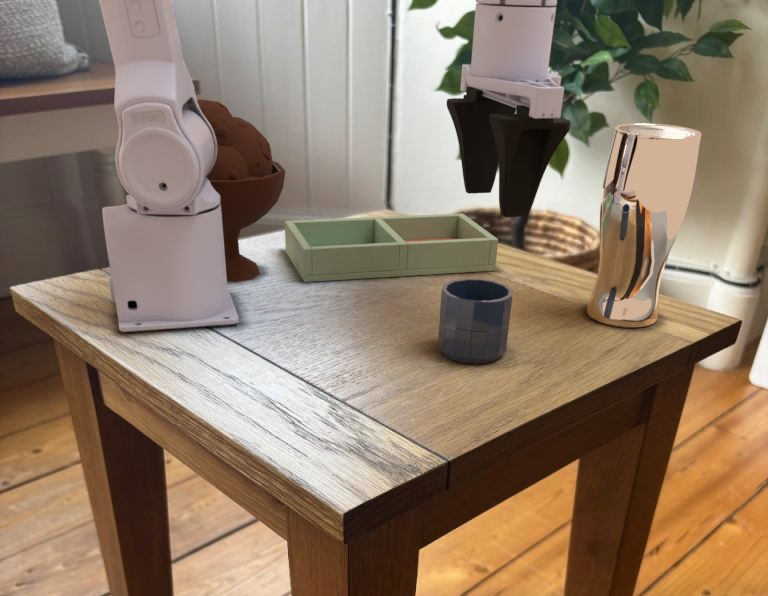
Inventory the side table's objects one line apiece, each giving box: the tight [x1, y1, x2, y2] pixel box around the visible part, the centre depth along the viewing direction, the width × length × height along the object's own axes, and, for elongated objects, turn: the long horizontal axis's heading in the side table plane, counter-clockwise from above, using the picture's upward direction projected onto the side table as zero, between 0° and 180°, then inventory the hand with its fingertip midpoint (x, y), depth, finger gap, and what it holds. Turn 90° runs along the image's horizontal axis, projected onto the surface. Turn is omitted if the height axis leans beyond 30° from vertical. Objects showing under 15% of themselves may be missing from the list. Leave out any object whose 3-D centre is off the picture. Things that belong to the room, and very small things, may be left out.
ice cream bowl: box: [197, 98, 286, 283], centre depth 74 cm, size 11×11×15 cm
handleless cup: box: [437, 278, 514, 365], centre depth 63 cm, size 5×5×5 cm
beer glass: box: [586, 122, 703, 329], centre depth 67 cm, size 7×7×15 cm
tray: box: [284, 213, 499, 283], centre depth 82 cm, size 19×10×3 cm, turn 106°
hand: (495, 203), depth 66 cm, fingers open, 7 cm apart
